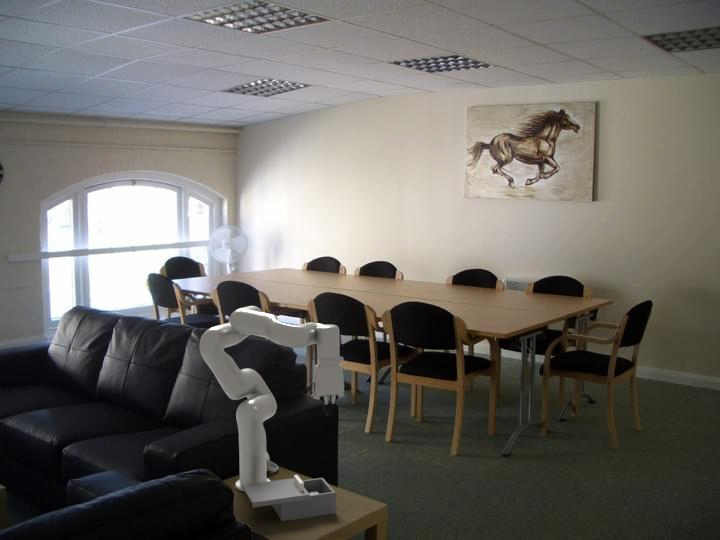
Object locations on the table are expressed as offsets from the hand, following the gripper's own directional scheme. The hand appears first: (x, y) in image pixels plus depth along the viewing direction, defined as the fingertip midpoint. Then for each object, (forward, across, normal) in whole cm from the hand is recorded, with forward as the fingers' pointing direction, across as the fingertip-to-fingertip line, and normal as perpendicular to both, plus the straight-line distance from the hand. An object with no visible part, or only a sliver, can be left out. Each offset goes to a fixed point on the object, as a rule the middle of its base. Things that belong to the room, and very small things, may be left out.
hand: (328, 414), depth 254 cm
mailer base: (+29, +11, +6) cm, 32 cm away
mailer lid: (+23, +20, +6) cm, 31 cm away
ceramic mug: (+29, +15, -33) cm, 47 cm away
